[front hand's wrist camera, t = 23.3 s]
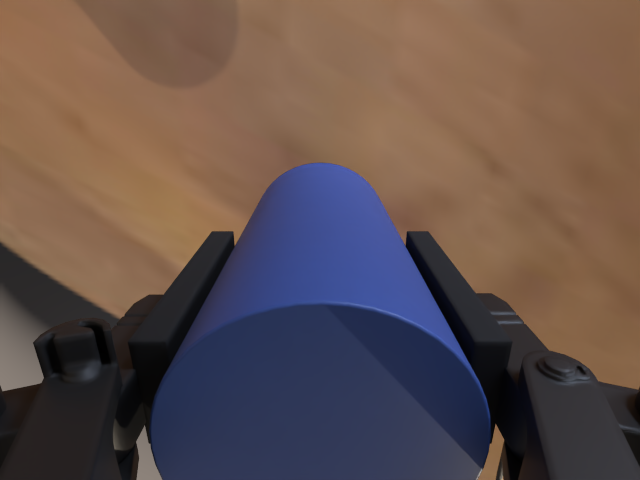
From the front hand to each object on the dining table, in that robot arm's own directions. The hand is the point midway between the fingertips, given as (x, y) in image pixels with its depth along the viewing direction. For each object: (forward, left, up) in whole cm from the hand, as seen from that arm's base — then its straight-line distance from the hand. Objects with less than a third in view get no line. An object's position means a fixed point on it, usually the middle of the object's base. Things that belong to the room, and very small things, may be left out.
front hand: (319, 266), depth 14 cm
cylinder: (0, 0, -5) cm, 5 cm away
